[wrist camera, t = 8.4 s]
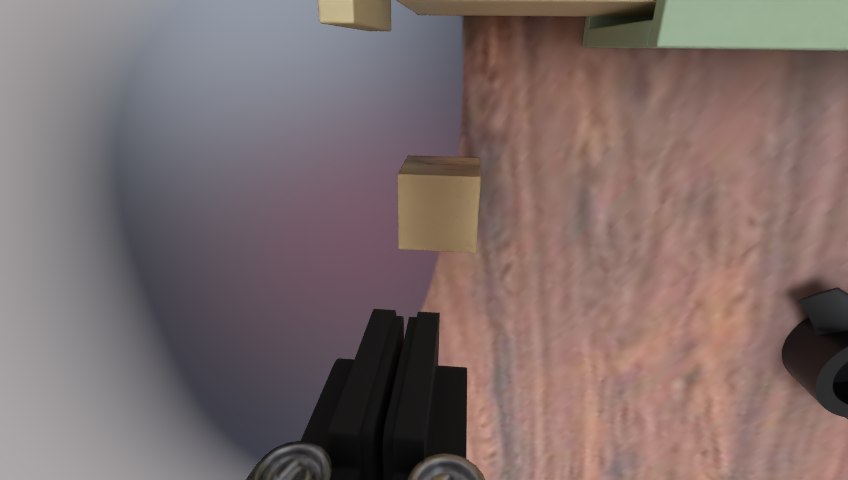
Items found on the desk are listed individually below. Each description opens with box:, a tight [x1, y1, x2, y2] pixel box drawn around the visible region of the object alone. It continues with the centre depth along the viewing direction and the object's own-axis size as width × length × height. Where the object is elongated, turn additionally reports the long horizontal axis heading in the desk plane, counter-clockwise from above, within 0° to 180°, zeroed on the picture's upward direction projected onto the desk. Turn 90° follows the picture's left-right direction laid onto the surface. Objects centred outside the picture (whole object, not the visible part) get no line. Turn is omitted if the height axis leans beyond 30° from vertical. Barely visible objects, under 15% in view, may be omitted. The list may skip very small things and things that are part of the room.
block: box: [398, 156, 481, 253], centre depth 24 cm, size 4×4×4 cm
